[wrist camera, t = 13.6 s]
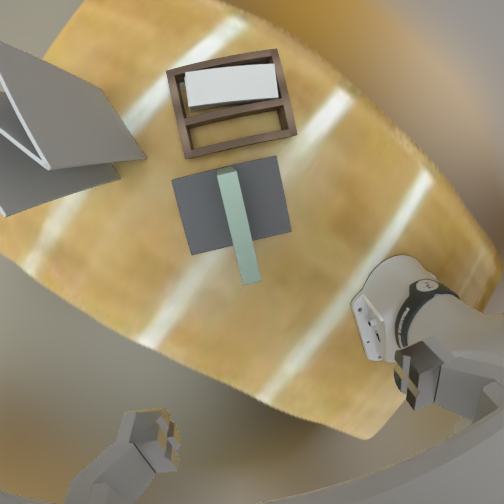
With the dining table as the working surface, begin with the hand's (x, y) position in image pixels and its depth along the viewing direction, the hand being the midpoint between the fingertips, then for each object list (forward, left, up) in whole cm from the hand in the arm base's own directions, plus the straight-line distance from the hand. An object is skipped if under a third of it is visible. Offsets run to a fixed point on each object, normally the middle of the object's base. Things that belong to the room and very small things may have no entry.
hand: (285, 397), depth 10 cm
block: (0, 0, -40) cm, 41 cm away
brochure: (+16, +16, -41) cm, 47 cm away
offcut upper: (+17, -4, -38) cm, 42 cm away
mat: (0, 0, -41) cm, 41 cm away
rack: (+15, -3, -41) cm, 44 cm away
